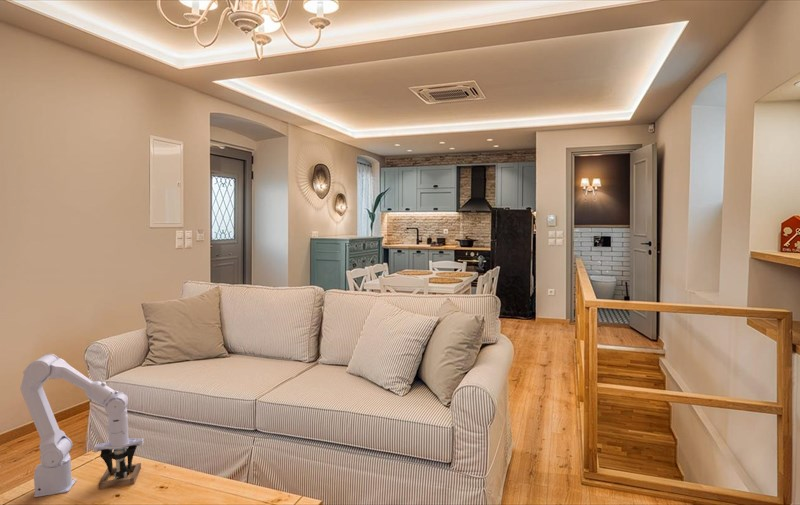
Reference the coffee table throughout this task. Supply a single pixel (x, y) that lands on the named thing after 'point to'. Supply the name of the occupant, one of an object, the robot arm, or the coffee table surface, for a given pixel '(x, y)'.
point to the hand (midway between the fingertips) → (120, 468)
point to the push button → (120, 463)
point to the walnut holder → (119, 482)
